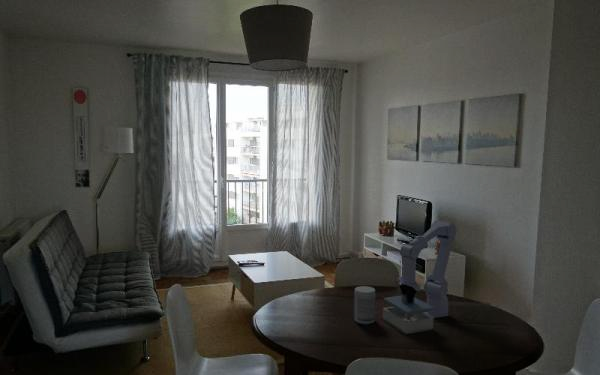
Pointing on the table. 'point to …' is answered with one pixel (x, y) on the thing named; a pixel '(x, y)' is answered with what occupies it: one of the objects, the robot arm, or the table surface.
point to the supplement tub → (364, 304)
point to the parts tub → (407, 320)
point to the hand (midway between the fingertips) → (407, 301)
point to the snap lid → (408, 305)
